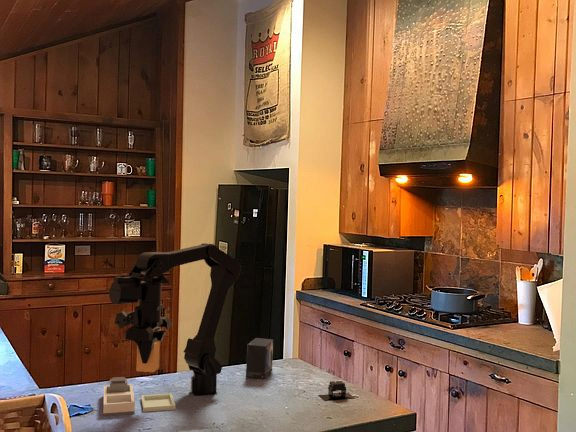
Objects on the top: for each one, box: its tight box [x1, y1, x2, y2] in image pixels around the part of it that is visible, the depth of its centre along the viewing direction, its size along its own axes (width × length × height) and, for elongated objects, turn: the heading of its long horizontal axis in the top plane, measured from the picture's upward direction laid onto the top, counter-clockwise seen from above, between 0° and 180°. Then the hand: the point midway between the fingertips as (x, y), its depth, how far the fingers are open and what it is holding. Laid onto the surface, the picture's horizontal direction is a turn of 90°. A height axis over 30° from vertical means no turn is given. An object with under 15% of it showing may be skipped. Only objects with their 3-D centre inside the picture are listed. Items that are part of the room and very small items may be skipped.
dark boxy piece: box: [317, 380, 356, 402], centre depth 172 cm, size 12×7×5 cm, turn 107°
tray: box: [140, 393, 177, 413], centre depth 160 cm, size 8×10×2 cm
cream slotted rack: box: [102, 376, 136, 417], centre depth 159 cm, size 8×16×6 cm, turn 17°
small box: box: [245, 337, 274, 380], centre depth 193 cm, size 11×6×10 cm, turn 168°
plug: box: [135, 338, 161, 373], centre depth 159 cm, size 4×4×8 cm
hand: (148, 361), depth 159 cm, fingers closed on plug, 4 cm apart
